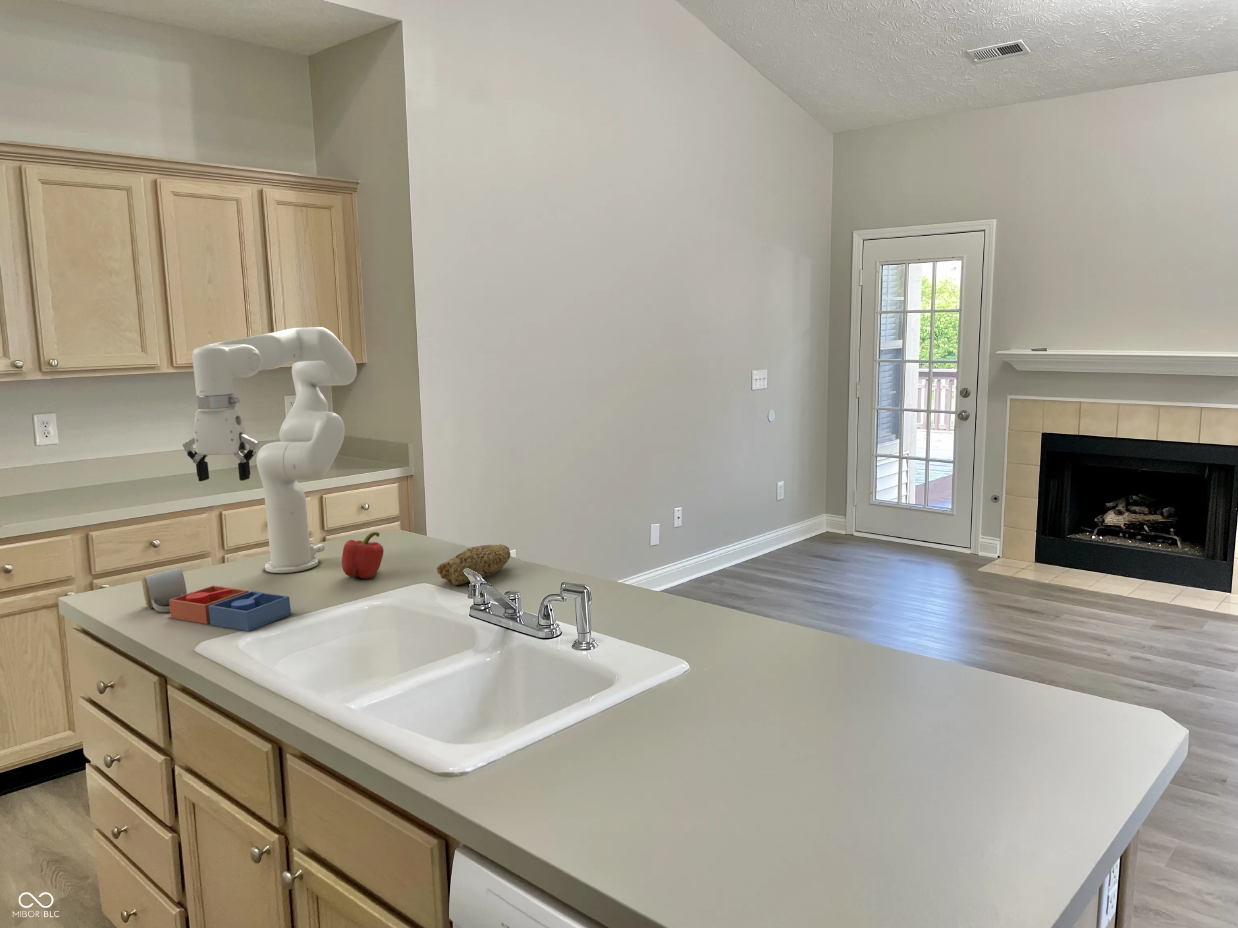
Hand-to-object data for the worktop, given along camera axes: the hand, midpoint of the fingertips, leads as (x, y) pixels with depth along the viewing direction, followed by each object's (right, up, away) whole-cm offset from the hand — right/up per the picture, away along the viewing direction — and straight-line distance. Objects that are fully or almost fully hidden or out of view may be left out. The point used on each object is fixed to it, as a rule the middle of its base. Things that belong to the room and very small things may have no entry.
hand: (224, 479), depth 203 cm
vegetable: (+27, -23, +15) cm, 39 cm away
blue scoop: (+12, -28, -15) cm, 34 cm away
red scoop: (+1, -28, -9) cm, 29 cm away
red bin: (+1, -28, -9) cm, 30 cm away
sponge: (+55, -23, +12) cm, 61 cm away
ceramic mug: (-11, -28, -3) cm, 30 cm away
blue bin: (+12, -29, -15) cm, 34 cm away
